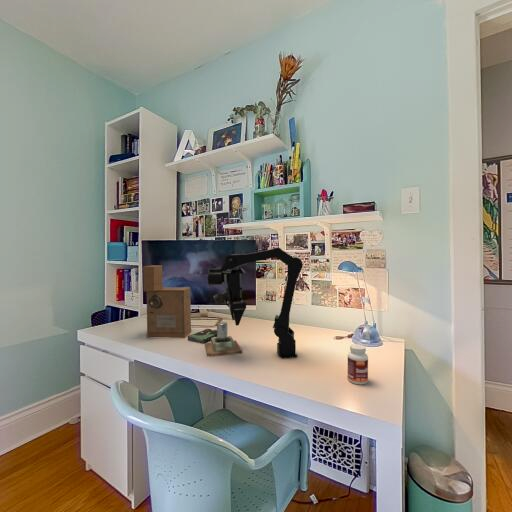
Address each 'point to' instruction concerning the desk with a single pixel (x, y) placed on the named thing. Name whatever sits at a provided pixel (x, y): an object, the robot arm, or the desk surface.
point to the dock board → (222, 347)
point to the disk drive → (203, 336)
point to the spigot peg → (222, 332)
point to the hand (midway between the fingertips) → (235, 322)
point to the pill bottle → (357, 364)
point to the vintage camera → (166, 306)
